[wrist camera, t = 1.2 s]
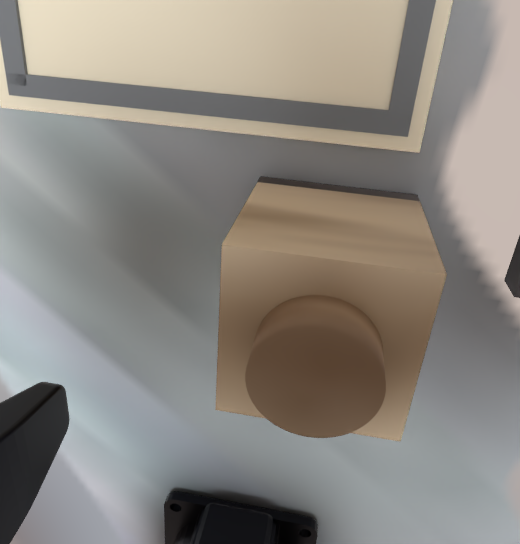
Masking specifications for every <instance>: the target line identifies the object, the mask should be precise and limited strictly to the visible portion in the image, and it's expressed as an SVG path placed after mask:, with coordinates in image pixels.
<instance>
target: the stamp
mask: <svg viewBox="0 0 520 544" xmlns="http://www.w3.org/2000/svg"><path fill="white" fill-rule="evenodd" d="M446 276H447V274H446V271H445V268H444V265H443V263H442V260H441V257H440V255H439V252H438V249H437V247H436V244H435V241H434V238H433V236H432V233H431V230H430V228H429V225H428V222H427V220H426V217H425V214H424V211H423V209H422V206H421V203H420V201H419V198H418V195H414V194H406V193H397V192H389V191H380V190H372V189H363V188H355V187H346V186H338V185H329V184H321V183H312V182H304V181H295V180H286V179H278V178H269V177H260V178H259V180H258V182H257V184H256V185H255V187H254V189H253V191H252V192H251V194H250V196H249V198H248V199H247V201H246V203H245V205H244V206H243V208H242V210H241V212H240V213H239V215H238V217H237V219H236V220H235V222H234V224H233V226H232V227H231V229H230V231H229V233H228V234H227V236H226V238H225V240H224V241H223V243H222V251H221V278H220V305H219V332H218V358H217V385H216V410H220V411H226V412H231V413H237V414H243V415H249V416H255V417H260V418H266V419H268V420H269V421H270V422H272V423H273V424H275V425H276V426H278V427H280V428H282V429H284V430H286V431H288V432H291V433H294V434H297V435H302V436H306V437H314V438H328V437H336V436H341V435H345V434H348V433H354V434H359V435H365V436H371V437H377V438H383V439H388V440H394V441H401V438H402V434H403V431H404V427H405V423H406V420H407V416H408V413H409V409H410V405H411V402H412V398H413V395H414V391H415V387H416V384H417V380H418V377H419V373H420V369H421V366H422V362H423V359H424V355H425V351H426V348H427V344H428V341H429V337H430V334H431V330H432V326H433V323H434V319H435V316H436V312H437V308H438V305H439V301H440V298H441V294H442V290H443V287H444V283H445V280H446Z"/></svg>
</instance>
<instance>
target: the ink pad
mask: <svg viewBox="0 0 520 544" xmlns="http://www.w3.org/2000/svg"><path fill="white" fill-rule="evenodd" d="M505 282H506V284H507V285H508V287H509V289H510V291H511V292H512V294H513V296H514V297H519V298H520V236H519V239H518V242H517V245H516V248H515V251H514V254H513V257H512V260H511V262H510V265H509V269H508V271H507V274H506V277H505Z"/></svg>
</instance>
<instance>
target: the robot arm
mask: <svg viewBox="0 0 520 544" xmlns="http://www.w3.org/2000/svg"><path fill="white" fill-rule="evenodd" d="M68 426H69V412H68V405H67V397H66V391H65V388H64V387H63V386H62V385H59V384H54V383H48V382H40V383H38V384H36V385H34V386H32V387H30V388H28V389H26V390H24V391H22V392H20V393H18V394H16V395H15V396H13V397H11V398H9V399H7V400H5V401H3V402H1V403H0V544H9V543H10V542H11V541H12V539H13V537H14V535H15V534H16V532H17V531H18V529H19V527H20V526H21V524H22V522H23V520H24V519H25V517H26V515H27V513H28V511H29V510H30V508H31V506H32V504H33V502H34V500H35V498H36V496H37V494H38V492H39V489H40V487H41V485H42V483H43V481H44V479H45V477H46V475H47V473H48V470H49V468H50V466H51V464H52V462H53V460H54V457H55V455H56V453H57V451H58V449H59V447H60V445H61V443H62V441H63V438H64V436H65V434H66V432H67V429H68ZM164 516H165V544H316V539H317V531H318V524H317V522H316V521H315V520H314V519H312V518H310V517H306V516H301V515H296V514H291V513H286V512H281V511H275V510H270V509H265V508H260V507H255V506H250V505H244V504H239V503H234V502H229V501H224V500H219V499H214V498H208V497H203V496H198V495H193V494H188V493H183V492H175V491H174V492H170V493H169V494H168V496H167V499H166V501H165V504H164Z"/></svg>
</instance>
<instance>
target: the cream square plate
mask: <svg viewBox="0 0 520 544" xmlns="http://www.w3.org/2000/svg"><path fill="white" fill-rule="evenodd" d="M452 3H453V0H0V104H1V108H10V109H19V110H28V111H38V112H47V113H56V114H65V115H75V116H84V117H93V118H102V119H111V120H121V121H130V122H139V123H148V124H158V125H167V126H176V127H185V128H195V129H204V130H213V131H222V132H231V133H241V134H250V135H259V136H268V137H278V138H287V139H296V140H305V141H315V142H324V143H333V144H342V145H351V146H361V147H370V148H379V149H388V150H398V151H407V152H416V153H420V149H421V144H422V139H423V135H424V130H425V126H426V121H427V117H428V112H429V108H430V103H431V99H432V94H433V90H434V85H435V81H436V76H437V71H438V67H439V62H440V58H441V53H442V49H443V44H444V40H445V35H446V31H447V26H448V22H449V17H450V13H451V8H452Z"/></svg>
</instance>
